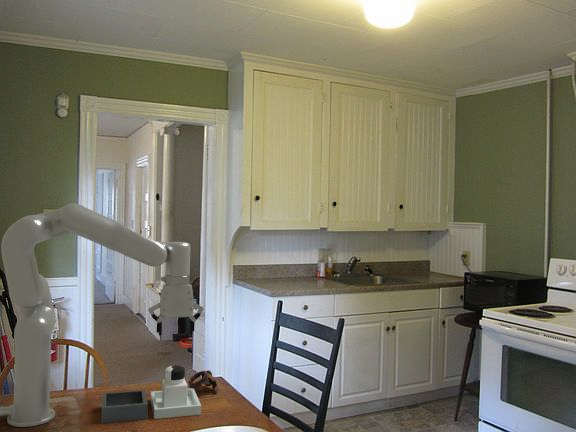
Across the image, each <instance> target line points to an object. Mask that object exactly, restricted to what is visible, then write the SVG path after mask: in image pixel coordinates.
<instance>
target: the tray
mask: <svg viewBox="0 0 576 432" xmlns="http://www.w3.org/2000/svg"><path fill="white" fill-rule="evenodd" d="M150 403H151V404H150V405H151V409H152V414H153V419H154V420H157V419H169V418H179V417H181V418H182V417H189V416H200V415H202V404H201V402H200V399H199V397H198V395H197V393H196V390H194V388H189V387H188V390H187V406H177V407H166V408H164V407H163V404H162V390H153V391H150Z"/></svg>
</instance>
